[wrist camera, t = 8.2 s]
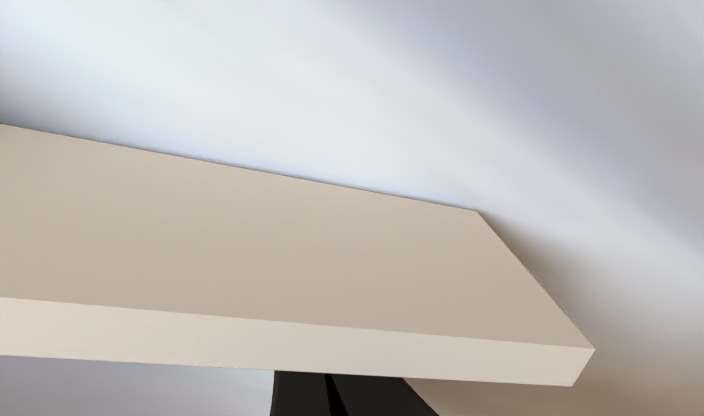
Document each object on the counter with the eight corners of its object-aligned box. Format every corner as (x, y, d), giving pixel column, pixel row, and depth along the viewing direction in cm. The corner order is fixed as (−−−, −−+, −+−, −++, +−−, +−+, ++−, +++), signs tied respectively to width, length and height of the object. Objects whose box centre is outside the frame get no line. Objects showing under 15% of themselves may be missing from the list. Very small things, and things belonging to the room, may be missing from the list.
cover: (-255, 50, 7) (-615, 212, 4) (476, 194, 11) (604, 335, 8) (-245, 139, 8) (-557, 348, 4) (453, 246, 12) (564, 399, 8)
